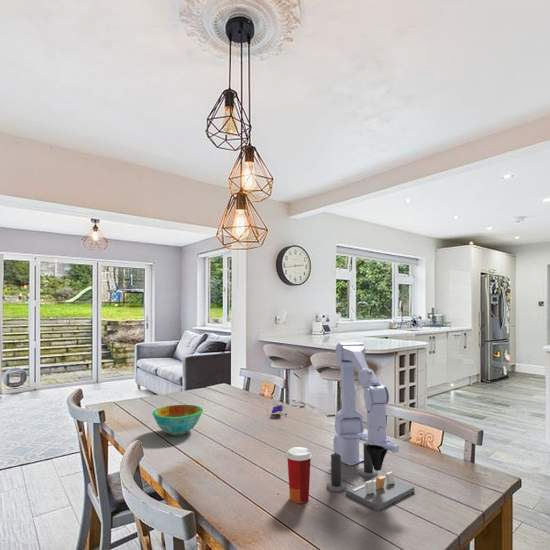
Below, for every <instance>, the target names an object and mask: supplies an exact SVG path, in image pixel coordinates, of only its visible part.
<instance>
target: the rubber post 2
mask: <svg viewBox="0 0 550 550" xmlns="http://www.w3.org/2000/svg"><path fill="white" fill-rule="evenodd" d="M366 446H368V444H367V442H365V443H363V459H364V461H363V467H362V468H360V469H359V476H361V475H362V476H363V478H365V477H367V478H366V479H372V478H374V477H376V476H377V475H378V476H379V473H378V472H379V471H376V470H374V467H373V464H372V460H371V457H370V455H369V453H368V451H367V449H366ZM362 476H361V477H362Z"/></svg>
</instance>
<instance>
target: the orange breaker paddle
mask: <svg viewBox="0 0 550 550" xmlns="http://www.w3.org/2000/svg"><path fill="white" fill-rule="evenodd" d="M384 481H385V477H383V476H380V477H377V478H376V486H375V487H376V488H377V489H380V488H382V487H384Z"/></svg>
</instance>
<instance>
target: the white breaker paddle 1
mask: <svg viewBox="0 0 550 550" xmlns="http://www.w3.org/2000/svg"><path fill="white" fill-rule="evenodd" d="M368 480H369V479H368ZM366 481H367V480H366ZM364 482H365V481H364ZM365 488H366V493H367V494H371V493H373V492H375V489H374V482H373V481H372V480H369V481H367V482H365Z"/></svg>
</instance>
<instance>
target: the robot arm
mask: <svg viewBox="0 0 550 550" xmlns="http://www.w3.org/2000/svg"><path fill="white" fill-rule="evenodd" d="M335 346H336V347H335V360H336V364H338V365H339V367H340V379H341V380H340V383H341V405H342V406H341V407H342V408H341V409H340V410H339V411H337V412H336V413H335V421H334V430H335V433H336V434H334V437H333V443H332V445H333V454H339V455H340V456H341V463H344V464H346V465H348V466H351V467H352V466H354V465H357V464H359V463H362V462H364V457H360V441H362V442H365V443H367V444H368V446H366V449H367V451H368V453H369V455H370V457H371V460H372V464H373V469H374V470H376V471H377V472H379V471H381V470H382V467H383V463H384V460H385V457H386V454H387V453H388V451H390V452H392V453H393V454H396V453H399V451H400V446H399V444H396V442H395V443H394V442H392V441H391V440H389V439H387V407H386V406H387V404H388V403H389V401H390V396H389V395H390V392H389V390H388V387H387V386H386V385H385V384H383V383H381V382H380V381H379V379H378V377H377V376H376V373H375V371H374V370H373V369H371V368H369V366H368V364H367V361H366V358H365V357H366V346H365V344H364V342H362V341H359V342H338V343H337V344H336V345H335ZM354 367H355V369H356V370H357V372H358V375H357V378H358V379H357V380H358V381H359V383H360V385H361V388H362V389H363V399H364V403H365V410H366V412H367V413H366V414H367V415H366V416H367V418H366V419H367V422H366V423H367V429H366V430H367V433H364V431H365V425H364V420H363V414H362V413H361V412H360V411H359V410H357V409H356V396H355V395H356V394H355V375H354V374H355V373H354Z"/></svg>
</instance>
